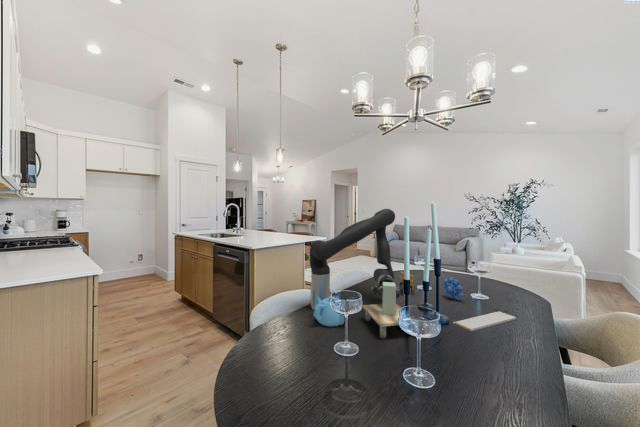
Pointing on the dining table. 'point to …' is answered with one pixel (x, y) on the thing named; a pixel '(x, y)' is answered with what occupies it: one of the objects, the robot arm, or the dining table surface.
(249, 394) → the dining table surface
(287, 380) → the dining table surface
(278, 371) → the dining table surface
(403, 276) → the ammunition clip
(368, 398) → the dining table surface
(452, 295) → the grapes
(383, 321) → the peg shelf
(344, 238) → the robot arm
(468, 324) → the baseboard
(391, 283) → the sage post
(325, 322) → the teapot
